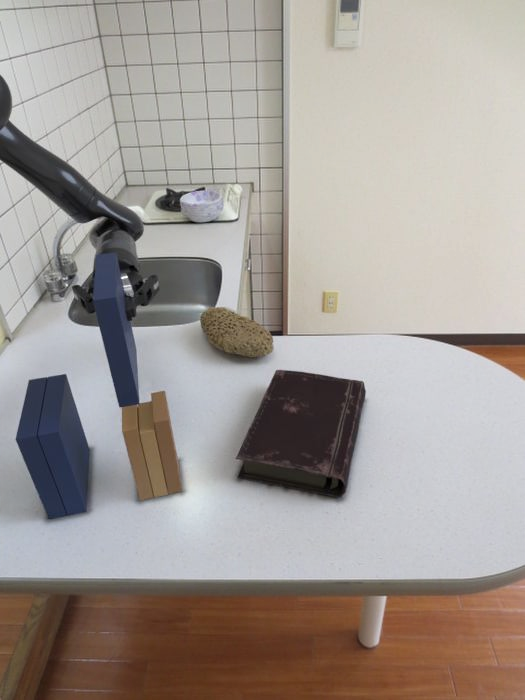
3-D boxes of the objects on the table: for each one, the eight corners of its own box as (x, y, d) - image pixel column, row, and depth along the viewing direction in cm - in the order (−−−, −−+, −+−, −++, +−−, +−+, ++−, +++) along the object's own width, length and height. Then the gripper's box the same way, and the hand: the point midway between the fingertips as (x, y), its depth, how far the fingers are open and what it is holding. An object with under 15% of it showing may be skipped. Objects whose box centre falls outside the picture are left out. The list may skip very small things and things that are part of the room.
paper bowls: (181, 227, 183) (178, 205, 179) (183, 212, 196) (180, 191, 191) (224, 224, 184) (223, 202, 179) (224, 209, 196) (222, 188, 192)
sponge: (196, 336, 126) (220, 366, 108) (196, 305, 123) (221, 329, 106) (247, 333, 130) (279, 361, 113) (249, 303, 128) (281, 326, 111)
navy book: (119, 407, 73) (92, 300, 63) (118, 352, 84) (96, 254, 75) (139, 404, 73) (116, 297, 64) (136, 350, 85) (116, 252, 75)
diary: (365, 400, 102) (367, 380, 99) (345, 500, 82) (347, 478, 79) (272, 387, 106) (271, 367, 104) (232, 478, 87) (230, 456, 84)
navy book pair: (48, 519, 81) (15, 439, 72) (56, 456, 93) (28, 379, 83) (86, 511, 82) (58, 431, 73) (89, 450, 94) (66, 373, 84)
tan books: (139, 500, 84) (121, 428, 75) (138, 469, 89) (120, 398, 81) (182, 491, 85) (168, 419, 76) (178, 461, 91) (165, 390, 82)
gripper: (68, 252, 86) (59, 301, 72) (154, 241, 88) (162, 287, 74) (79, 292, 90) (72, 346, 76) (161, 281, 92) (169, 332, 78)
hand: (116, 317), depth 75 cm, fingers closed on navy book, 3 cm apart
